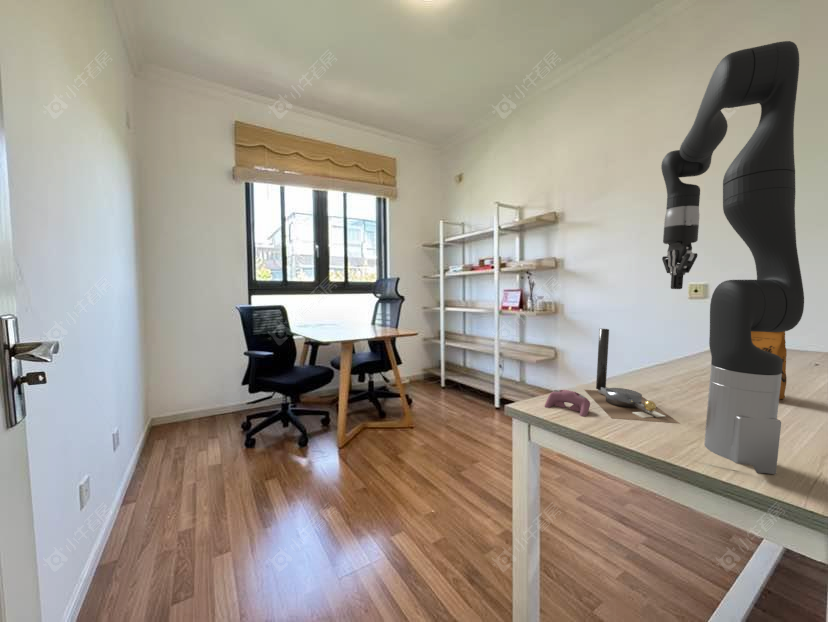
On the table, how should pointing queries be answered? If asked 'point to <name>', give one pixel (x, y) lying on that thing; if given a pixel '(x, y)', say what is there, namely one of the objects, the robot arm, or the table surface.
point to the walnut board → (629, 410)
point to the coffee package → (773, 350)
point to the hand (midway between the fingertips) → (676, 289)
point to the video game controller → (568, 396)
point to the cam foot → (616, 394)
